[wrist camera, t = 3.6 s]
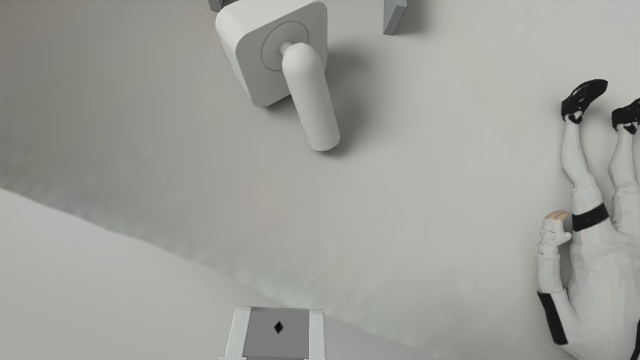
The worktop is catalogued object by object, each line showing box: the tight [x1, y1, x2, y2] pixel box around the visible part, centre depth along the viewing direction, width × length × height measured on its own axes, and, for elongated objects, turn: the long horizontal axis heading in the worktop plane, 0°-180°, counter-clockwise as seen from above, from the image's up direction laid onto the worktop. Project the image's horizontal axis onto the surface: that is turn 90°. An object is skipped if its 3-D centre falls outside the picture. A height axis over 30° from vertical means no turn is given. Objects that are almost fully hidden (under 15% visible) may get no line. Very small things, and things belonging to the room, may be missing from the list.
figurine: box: [535, 79, 640, 360], centre depth 27 cm, size 13×6×30 cm
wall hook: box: [215, 0, 341, 151], centre depth 25 cm, size 8×10×10 cm
